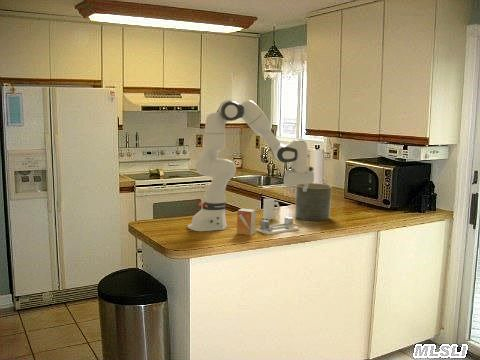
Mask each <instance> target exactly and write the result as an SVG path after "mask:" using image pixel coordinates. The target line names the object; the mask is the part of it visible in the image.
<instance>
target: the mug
mask: <svg viewBox="0 0 480 360" xmlns="http://www.w3.org/2000/svg"><path fill="white" fill-rule="evenodd" d="M275 206H277V210H276V212H275ZM262 208H263V213H262V214H263V220H266V219H267V220H268V221H271V219H272V220H274V216H277V215H278V213H280V212H279V211H280V204H279V202H278V201H275V198H263V207H262Z"/></svg>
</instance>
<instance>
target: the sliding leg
mask: <svg viewBox="0 0 480 360" xmlns="http://www.w3.org/2000/svg"><path fill="white" fill-rule="evenodd" d="M283 223H284V225H286V226H288V225H295V226H298V224H297V223H295V222H294V217H291V216H285V217H284V222H283Z"/></svg>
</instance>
